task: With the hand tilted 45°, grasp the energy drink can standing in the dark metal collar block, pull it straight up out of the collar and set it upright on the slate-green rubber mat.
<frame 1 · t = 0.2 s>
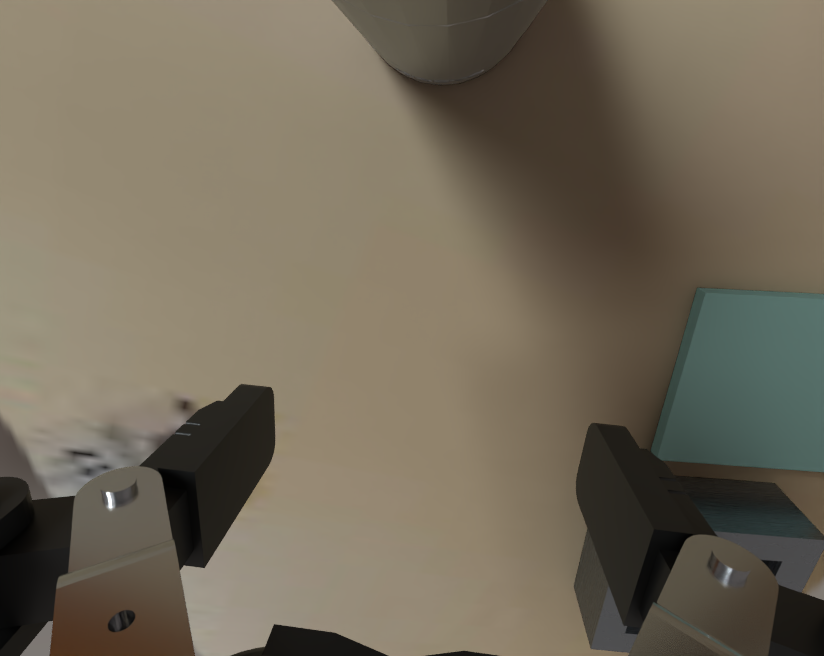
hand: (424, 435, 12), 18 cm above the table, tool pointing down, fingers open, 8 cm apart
collar block: (666, 538, 35), on the table
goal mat: (768, 381, 29), on the table
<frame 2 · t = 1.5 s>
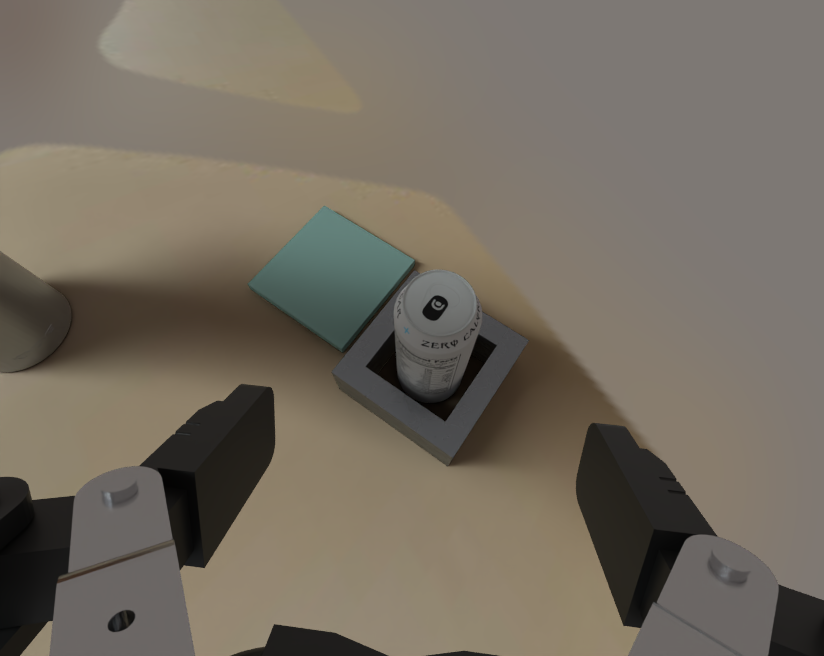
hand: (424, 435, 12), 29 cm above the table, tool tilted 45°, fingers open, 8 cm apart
collar block: (429, 374, 43), on the table
energy drink can: (429, 375, 43), resting in collar block
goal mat: (333, 277, 47), on the table
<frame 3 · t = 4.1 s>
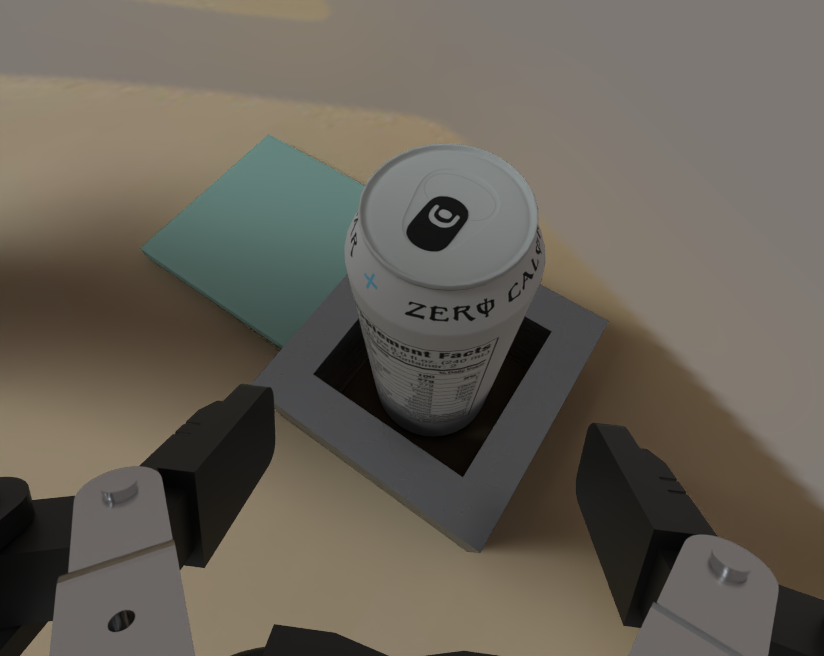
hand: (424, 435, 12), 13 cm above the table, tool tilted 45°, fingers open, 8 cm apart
collar block: (431, 386, 26), on the table
energy drink can: (431, 387, 26), resting in collar block
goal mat: (279, 237, 30), on the table
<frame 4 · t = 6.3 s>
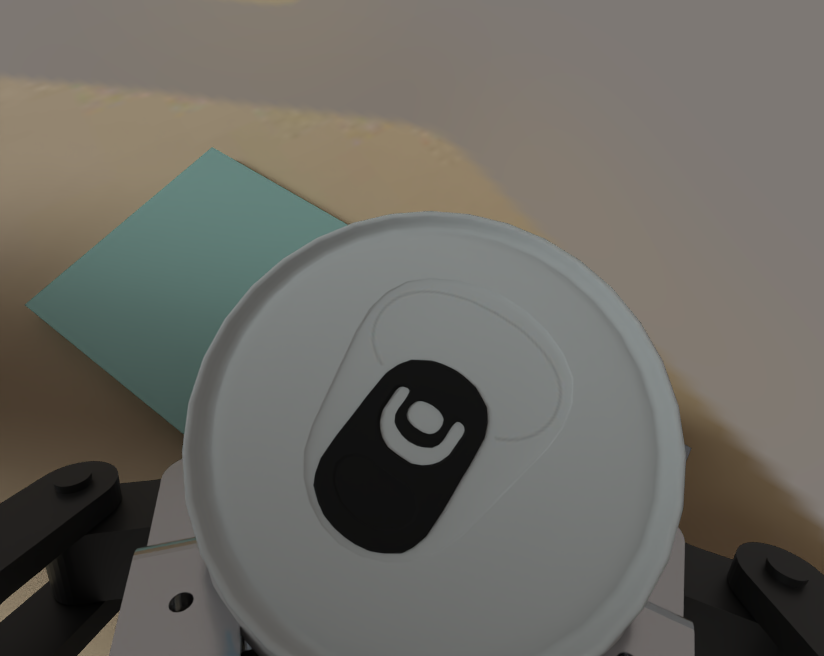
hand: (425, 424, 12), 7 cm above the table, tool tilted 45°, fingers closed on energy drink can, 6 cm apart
energy drink can: (419, 513, 18), resting in collar block, touching gripper
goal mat: (219, 286, 23), on the table
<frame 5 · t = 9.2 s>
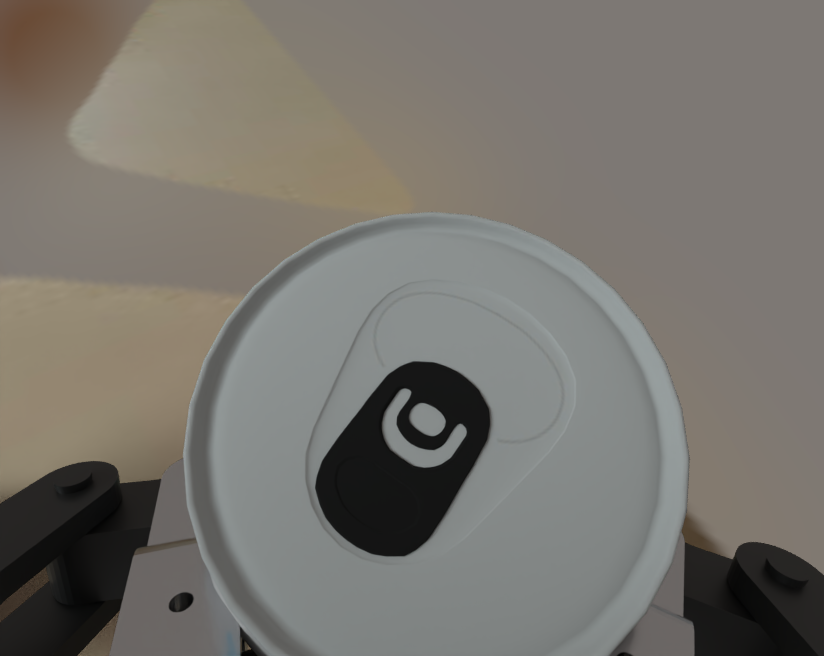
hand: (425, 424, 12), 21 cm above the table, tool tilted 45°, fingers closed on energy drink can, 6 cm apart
energy drink can: (420, 514, 18), point 13 cm above the table, touching gripper
when the fingers open (9 cm above the table, at t = 12.3 s): energy drink can stays where it is, resting on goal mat.
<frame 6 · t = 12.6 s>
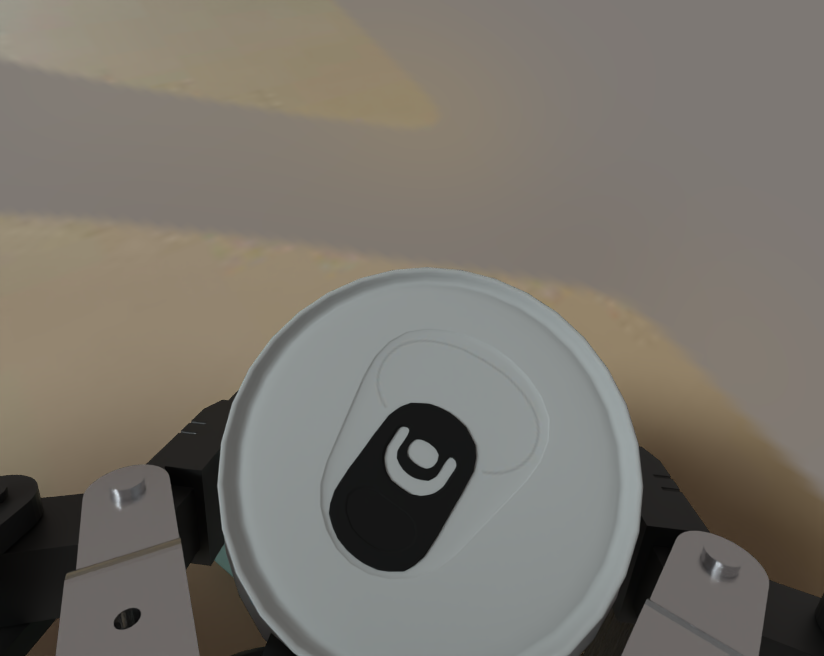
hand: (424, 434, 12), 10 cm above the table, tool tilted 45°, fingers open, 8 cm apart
energy drink can: (420, 519, 19), point 1 cm above the table, touching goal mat
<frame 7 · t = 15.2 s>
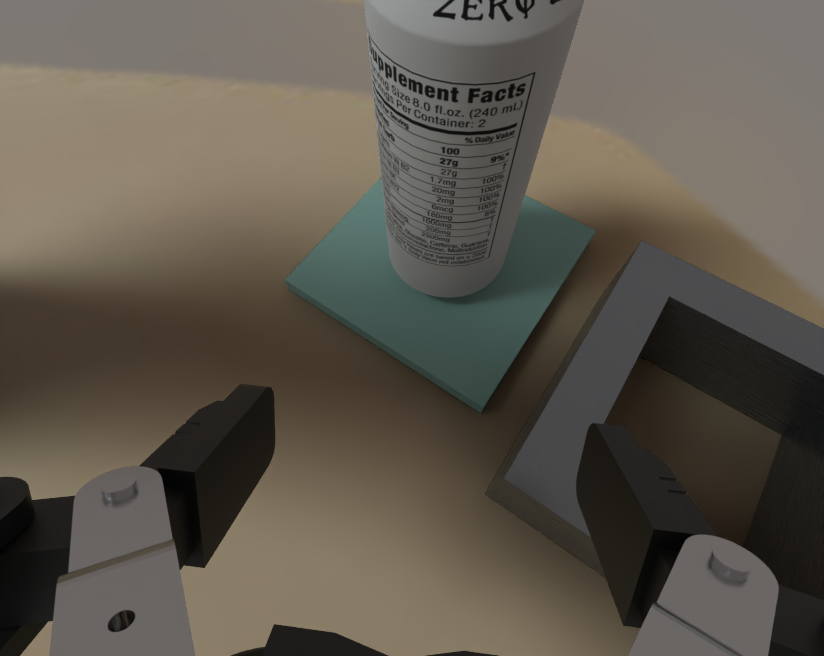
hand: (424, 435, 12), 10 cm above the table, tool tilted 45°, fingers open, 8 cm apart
collar block: (666, 457, 21), on the table
energy drink can: (445, 259, 24), point 1 cm above the table, touching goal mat
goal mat: (443, 265, 25), on the table
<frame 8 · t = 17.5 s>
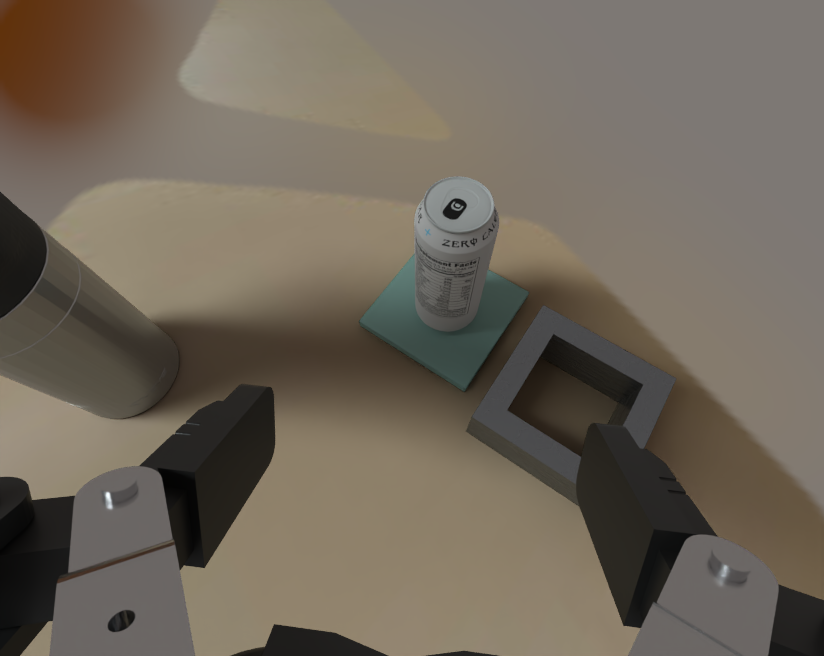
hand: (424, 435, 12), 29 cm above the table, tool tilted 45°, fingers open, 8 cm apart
collar block: (558, 413, 41), on the table
energy drink can: (446, 308, 45), point 1 cm above the table, touching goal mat
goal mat: (444, 311, 45), on the table
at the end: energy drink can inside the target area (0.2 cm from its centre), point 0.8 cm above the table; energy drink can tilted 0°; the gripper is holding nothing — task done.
